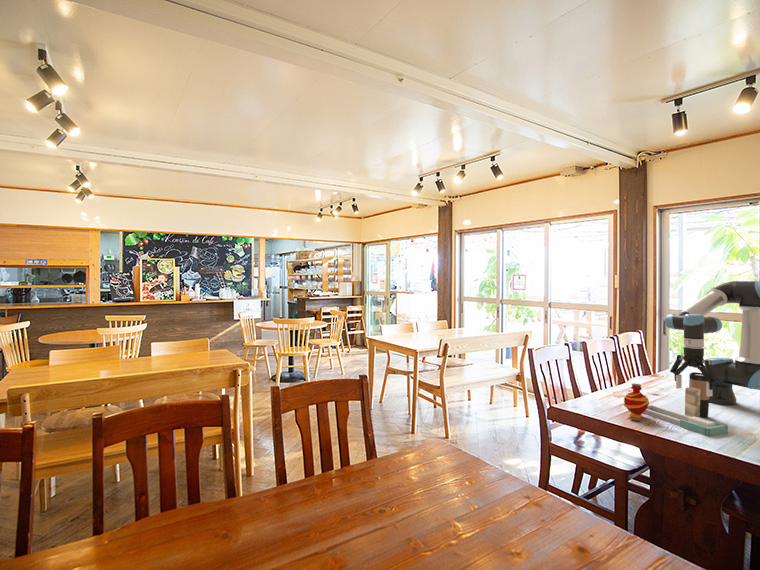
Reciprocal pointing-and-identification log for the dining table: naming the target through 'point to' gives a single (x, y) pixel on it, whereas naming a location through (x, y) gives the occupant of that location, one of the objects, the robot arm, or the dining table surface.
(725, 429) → the tray
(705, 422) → the cube
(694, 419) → the cube
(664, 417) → the slot rail
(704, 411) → the travel mug
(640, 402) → the potion bottle
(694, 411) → the light wood tall block
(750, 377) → the robot arm
